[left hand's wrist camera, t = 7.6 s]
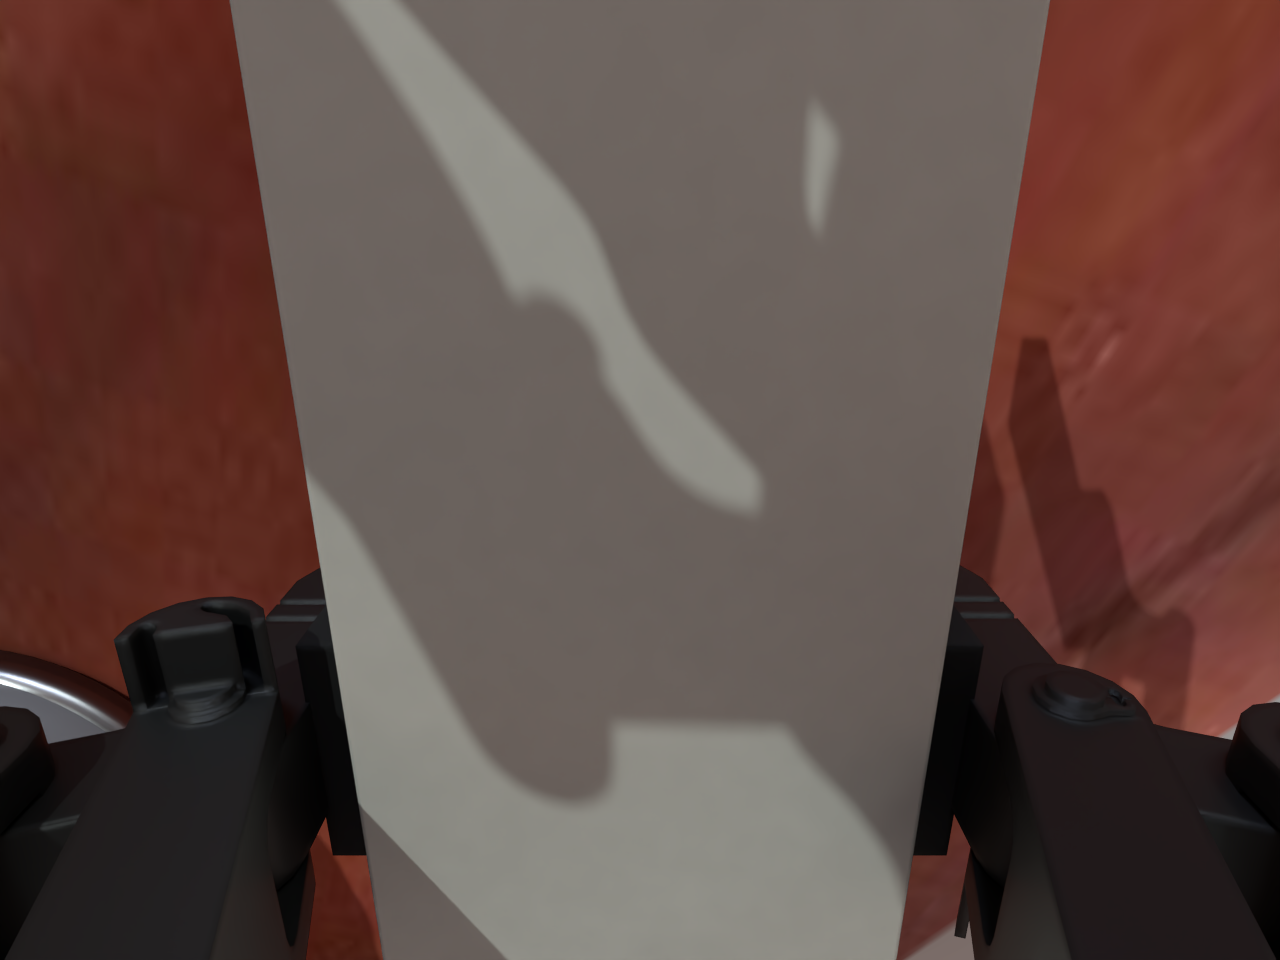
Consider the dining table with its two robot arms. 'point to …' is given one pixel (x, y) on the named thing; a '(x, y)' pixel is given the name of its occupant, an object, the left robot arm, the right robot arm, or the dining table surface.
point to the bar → (639, 443)
